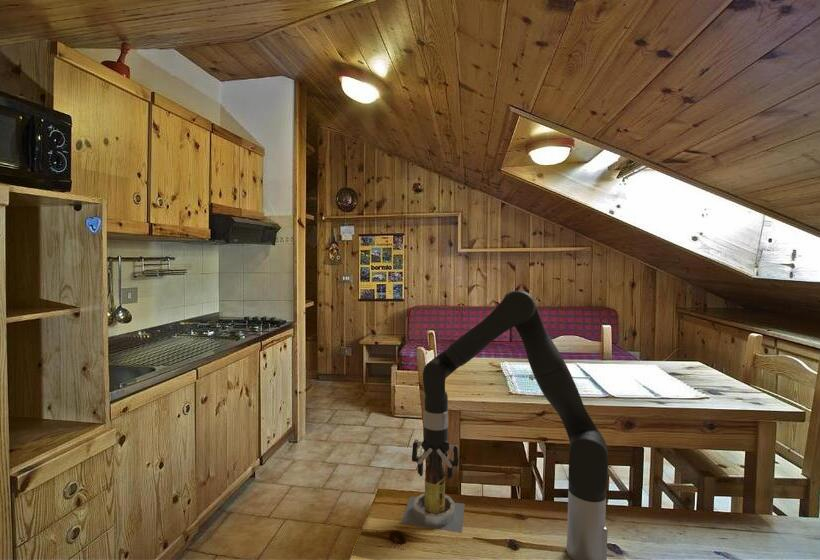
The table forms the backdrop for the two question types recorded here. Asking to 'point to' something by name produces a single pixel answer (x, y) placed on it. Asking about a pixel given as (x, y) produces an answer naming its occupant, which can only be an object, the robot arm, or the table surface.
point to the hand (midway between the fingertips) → (434, 476)
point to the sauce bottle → (434, 486)
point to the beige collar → (431, 518)
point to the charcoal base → (452, 526)
